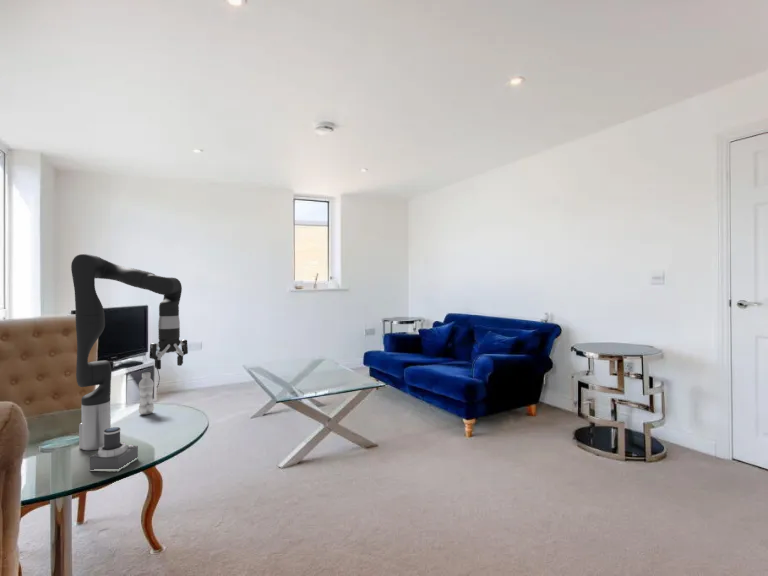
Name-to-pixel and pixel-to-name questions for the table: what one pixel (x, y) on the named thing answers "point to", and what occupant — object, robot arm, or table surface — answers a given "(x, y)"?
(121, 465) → the camera body
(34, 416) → the table surface
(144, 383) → the plastic bottle
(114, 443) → the lens
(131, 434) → the table surface
